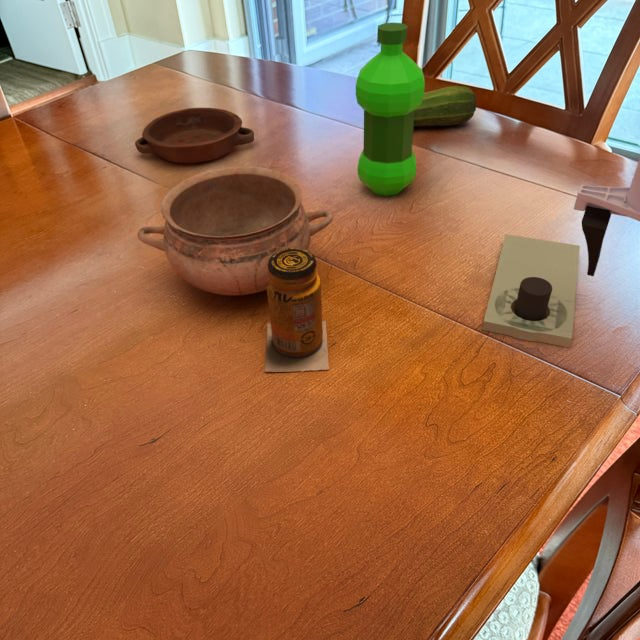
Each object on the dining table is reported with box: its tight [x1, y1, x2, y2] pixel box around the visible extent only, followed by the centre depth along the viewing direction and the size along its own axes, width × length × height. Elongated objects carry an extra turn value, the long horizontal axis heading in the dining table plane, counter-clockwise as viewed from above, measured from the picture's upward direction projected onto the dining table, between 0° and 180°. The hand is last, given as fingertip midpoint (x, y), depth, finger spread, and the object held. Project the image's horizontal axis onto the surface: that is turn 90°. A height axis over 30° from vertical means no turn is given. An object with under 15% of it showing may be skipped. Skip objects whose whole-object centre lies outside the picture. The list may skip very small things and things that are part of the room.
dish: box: [134, 107, 255, 164], centre depth 112 cm, size 18×22×5 cm
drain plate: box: [481, 233, 581, 348], centre depth 77 cm, size 20×10×2 cm, turn 160°
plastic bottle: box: [355, 22, 426, 197], centre depth 92 cm, size 10×10×25 cm
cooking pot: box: [137, 166, 334, 297], centre depth 78 cm, size 25×19×12 cm
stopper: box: [513, 277, 552, 321], centre depth 72 cm, size 4×4×5 cm
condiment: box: [264, 248, 330, 373], centre depth 67 cm, size 7×8×12 cm
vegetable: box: [413, 85, 478, 128], centre depth 116 cm, size 7×7×20 cm
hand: (629, 279), depth 64 cm, fingers open, 7 cm apart
